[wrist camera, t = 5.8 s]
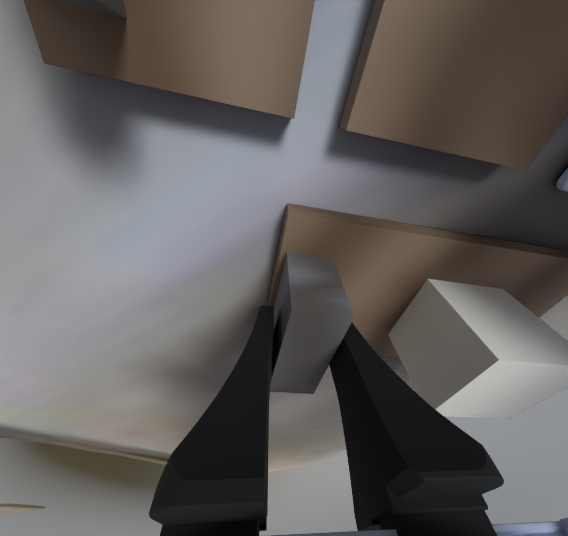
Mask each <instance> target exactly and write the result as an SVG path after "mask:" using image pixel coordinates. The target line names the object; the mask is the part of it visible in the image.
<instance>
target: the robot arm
mask: <svg viewBox="0 0 568 536" xmlns="http://www.w3.org/2000/svg"><path fill="white" fill-rule="evenodd" d="M556 186H557V188H558V189H559V190H563V191H566V192H568V169H567V170H566V171H565V172H564V173H563V174H562V176H561V177H560V178H559V180H558V181H557V185H556ZM273 349H274V306H261V307H260V309H259V314H258V317H257V320H256V323H255V326H254V329H253V331H252V333H251V336H250V338H249V340H248V342H247V345H246V347H245V349H244V351H243V353H242V355H241V357H240V358H239V360H238V362H237V364H236V366H235V367H234V369H233V371H232V373H231V374H230V376H229V378H228V379H227V381H226V382H225V384H224V385H223V387H222V388H221V390H220V392H219V393H218V395H217V396H216V397H215V399H214V400H213V402H212V403H211V404H210V406H209V407H208V409H207V410H206V411H205V413H204V414H203V415H202V417H201V418H200V419H199V421H198V422H197V423H196V425H195V426H194V427H193V428H192V430H191V431H190V432H189V433H188V435H187V436H186V437H185V438H184V439H183V441H182V442H181V443H180V444H179V445H178V447H177V448H176V449H175V450H174V452H173V453H172V454H171V456H170V458H169V460H168V462H167V464H166V466H165V469H164V471H163V473H162V475H161V478H160V480H159V483H158V485H157V488H156V491H155V495H154V498H153V502H152V505H151V508H150V511H149V516H150V518H151V519H153V520H155V521H157V522H159V523H161V524H163V526H162V529H161V533H160V536H259V531H265V530H266V520H267V519H266V518H267V500H268V428H269V394H270V384H271V373H272V362H273ZM330 368H331V372H332V376H333V380H334V384H335V387H336V391H337V395H338V400H339V405H340V411H341V417H342V423H343V429H344V436H345V442H346V449H347V456H348V463H349V471H350V478H351V487H352V495H353V503H354V513H355V519H356V524H357V529H358V531H352V532H332V533H312V534H294V535H293V534H292V535H273V536H568V518H564V519H560V521H550V522H530V523H513V524H512V523H511V524H491V522H490V520H489V518H488V516H487V515H486V513H485V511H484V510H487V509H488V506H487V504H486V502H485V500H484V498H483V497H482V495H481V494H483V493H486V492H489V491H491V490H493V489H496V488H498V487H500V486H502V485H503V483H504V480H503V478H502V476H501V474H500V473H499V471H498V469H497V467H496V466H495V464H494V462H493V461H492V459H491V458H490V456H489V455H488V453H487V452H486V450H485V449H484V447H483V446H482V445H481V444H480V443H479V442H477V441H476V440H475V439H473V438H472V437H470V436H469V435H468V434H466V433H465V432H464V431H462V430H461V429H459V428H458V427H457V426H456V425H454V424H453V423H452V422H450V421H449V420H448V419H446V418H445V417H444V416H443V415H442V414H440V413H439V412H438V411H437V410H435V409H434V408H433V407H432V406H431V405H429V404H428V403H427V402H426V401H425V400H424V399H423V398H421V397H420V396H419V395H418V394H417V393H416V392H415V391H413V390H412V389H411V388H410V387H409V386H408V385H407V384H406V383H405V382H404V381H403V380H402V379H401V378H400V377H399V376H398V375H397V374H396V373H395V372H394V371H393V370H392V369H391V368H390V367H389V366H388V365H387V364H386V363H385V362H384V361H383V360H382V359H381V357H380V356H379V355H378V354H377V353H376V352H375V351H374V349H373V348H372V347H371V346H370V345H369V343H368V342H367V341H366V340H365V338H364V337H363V336H362V335H361V333H360V332H359V331H358V329H357V328H356V327H355V325H354V324H353V323H351V324H350V326H349V328H348V330H347V332H346V334H345V336H344V338H343V339H342V341H341V343H340V345H339V347H338V349H337V351H336V352H335V354H334V356H333V358H332V360H331V362H330Z"/></svg>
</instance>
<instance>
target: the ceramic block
mask: <svg viewBox="0 0 568 536" xmlns="http://www.w3.org/2000/svg"><path fill="white" fill-rule="evenodd" d="M388 336H389V338H390V340H391V342H392V344H393V346H394V348H395V350H396V352H397V354H398V356H399V358H400V360H401V362H402V364H403V366H404V368H405V370H406V372H407V374H408V376H409V378H410V380H411V382H412V384H413V386H414V388H415V390H416V392H417V394H418V395H419V396H420V397H421V398H423V399H424V400H425V401H426V402H427V403H428V404H429V405H431V406H432V407H433V408H434V409H435V410H437V411H438V412H439V413H440V414H442V415H443V416H457V417H481V418H505V419H511V418H513V417H515V416H517V415H518V414H520V413H522V412H524V411H526V410H527V409H529V408H531V407H533V406H534V405H537V404H538V403H540V402H542V401H544V400H546V399H547V398H549V397H551V396H553V395H555V394H556V393H558V392H560V391H562V390H564V389H566V388H567V387H568V341H567V340H566V339H564V338H563V337H562V336H561V335H560V334H558V333H557V332H556V331H555V330H553V329H552V328H551V327H550V326H548V325H547V324H546V323H545V322H543V321H542V320H541V319H540V318H538V317H537V316H536V315H535V314H533V313H532V312H531V311H530V310H529V309H527V308H526V307H525V306H524V305H522V304H521V303H520V302H519V301H517V300H516V299H515V298H514V297H512V296H511V295H510V294H509V293H507V292H506V291H505V290H504V289H500V288H493V287H485V286H478V285H471V284H463V283H456V282H448V281H441V280H433V279H427V280H426V282H425V283H424V284H423V286H422V287H421V289H420V290H419V292H418V293H417V294H416V296H415V297H414V299H413V300H412V301H411V303H410V304H409V306H408V307H407V308H406V310H405V311H404V313H403V314H402V316H401V317H400V318H399V320H398V321H397V323H396V324H395V325H394V327H393V328H392V330H391V331H390V332H389V334H388Z"/></svg>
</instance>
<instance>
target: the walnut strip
mask: <svg viewBox="0 0 568 536" xmlns="http://www.w3.org/2000/svg"><path fill="white" fill-rule="evenodd" d="M427 279H433V280H441V281H448V282H456V283H463V284H471V285H478V286H485V287H493V288H500V289H504V290H505V291H506V292H507V293H509V294H510V295H511V296H512V297H514V298H515V299H516V300H517V301H519V302H520V303H521V304H522V305H524V306H525V307H526V308H527V309H529V310H530V311H531V312H532V313H533V314H535V315H536V316H537V317H538V318H539V317H541V316H542V315H543V314H544V313H546V312H547V311H548V310H549V309H551V308H552V307H553V306H554V305H555V304H557V303H558V302H559V301H560V300H562V299H563V298H564V297H565V296H567V295H568V251H565V250H559V249H553V248H547V247H542V246H536V245H530V244H524V243H518V242H512V241H506V240H500V239H494V238H488V237H482V236H477V235H471V234H465V233H459V232H453V231H447V230H441V229H435V228H429V227H423V226H418V225H412V224H406V223H400V222H394V221H388V220H382V219H376V218H370V217H364V216H358V215H353V214H347V213H341V212H335V211H329V210H323V209H317V208H311V207H305V206H299V205H294V204H288V203H287V208H286V213H285V218H284V223H283V228H282V233H281V238H280V243H279V248H278V253H277V258H276V263H275V268H274V273H273V278H272V283H271V288H270V293H269V298H268V303H267V306H274V349H273V362H272V373H271V384H270V392H288V393H307V394H314V392H315V390H316V388H317V386H318V384H319V382H320V380H321V379H322V377H323V375H324V373H325V371H326V369H327V367H328V366H329V364H330V362H331V360H332V358H333V356H334V354H335V352H336V351H337V349H338V347H339V345H340V343H341V341H342V339H343V338H344V336H345V334H346V332H347V330H348V328H349V326H350V324H351V323H353V324H354V325H355V327H356V328H357V329H358V331H359V332H360V333H361V335H362V336H363V337H364V338H365V340H366V341H367V342H368V343H369V345H370V346H371V347H372V348H373V349H374V351H375V352H376V353H377V354H378V355H379V356H386V357H399V356H398V354H397V352H396V350H395V348H394V346H393V344H392V342H391V340H390V338H389V336H388V334H389V332H390V331H391V330H392V328H393V327H394V325H395V324H396V323H397V321H398V320H399V318H400V317H401V316H402V314H403V313H404V311H405V310H406V308H407V307H408V306H409V304H410V303H411V301H412V300H413V299H414V297H415V296H416V294H417V293H418V292H419V290H420V289H421V287H422V286H423V284H424V283H425V282H426V280H427Z"/></svg>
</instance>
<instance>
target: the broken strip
mask: <svg viewBox="0 0 568 536" xmlns="http://www.w3.org/2000/svg"><path fill="white" fill-rule="evenodd" d="M314 1H315V0H24V2H25V5H26V8H27V11H28V14H29V17H30V20H31V24H32V27H33V30H34V33H35V36H36V39H37V42H38V45H39V48H40V51H41V55H42V58H43V61H44V63H46V64H50V65H54V66H59V67H63V68H68V69H72V70H77V71H81V72H86V73H90V74H95V75H99V76H104V77H108V78H113V79H117V80H122V81H126V82H131V83H135V84H140V85H144V86H149V87H153V88H158V89H162V90H167V91H171V92H176V93H180V94H185V95H189V96H194V97H198V98H203V99H207V100H212V101H216V102H221V103H225V104H230V105H234V106H239V107H243V108H248V109H252V110H257V111H261V112H266V113H270V114H275V115H279V116H284V117H288V118H293V119H294V115H295V109H296V104H297V98H298V92H299V87H300V81H301V75H302V70H303V64H304V58H305V52H306V47H307V41H308V35H309V30H310V24H311V18H312V13H313V7H314ZM567 115H568V0H374V2H373V6H372V10H371V13H370V17H369V20H368V24H367V28H366V31H365V35H364V38H363V42H362V46H361V49H360V53H359V56H358V60H357V64H356V67H355V71H354V74H353V78H352V82H351V85H350V89H349V92H348V96H347V100H346V103H345V107H344V110H343V114H342V118H341V121H340V125H339V128H341V129H344V130H347V131H351V132H356V133H360V134H365V135H369V136H374V137H378V138H383V139H387V140H392V141H396V142H401V143H405V144H410V145H414V146H419V147H423V148H428V149H432V150H437V151H441V152H446V153H450V154H455V155H459V156H464V157H468V158H473V159H477V160H482V161H486V162H491V163H495V164H500V165H504V166H509V167H513V168H518V169H522V170H526V169H527V168H528V166H529V165H530V164H531V162H532V161H533V160H534V158H535V157H536V156H537V154H538V153H539V152H540V150H541V149H542V148H543V146H544V145H545V144H546V143H547V141H548V140H549V139H550V137H551V136H552V135H553V133H554V132H555V131H556V129H557V128H558V127H559V125H560V124H561V123H562V121H563V120H564V119H565V118H566V116H567Z"/></svg>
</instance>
